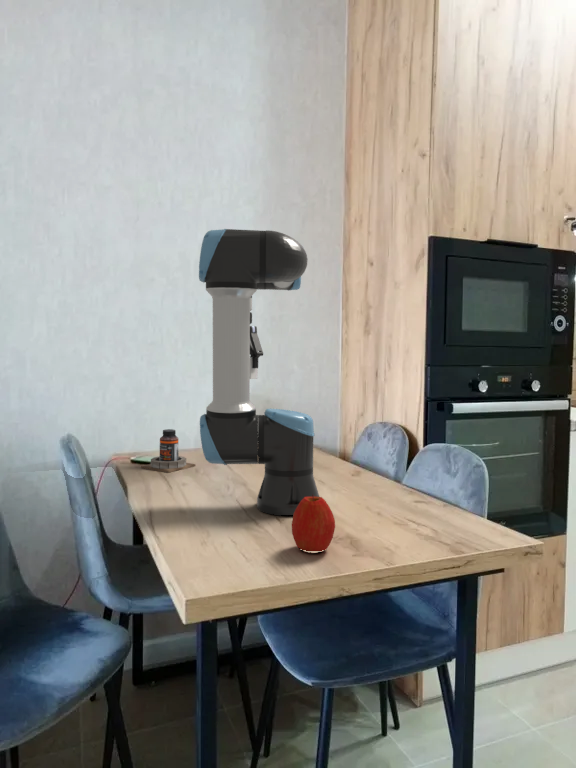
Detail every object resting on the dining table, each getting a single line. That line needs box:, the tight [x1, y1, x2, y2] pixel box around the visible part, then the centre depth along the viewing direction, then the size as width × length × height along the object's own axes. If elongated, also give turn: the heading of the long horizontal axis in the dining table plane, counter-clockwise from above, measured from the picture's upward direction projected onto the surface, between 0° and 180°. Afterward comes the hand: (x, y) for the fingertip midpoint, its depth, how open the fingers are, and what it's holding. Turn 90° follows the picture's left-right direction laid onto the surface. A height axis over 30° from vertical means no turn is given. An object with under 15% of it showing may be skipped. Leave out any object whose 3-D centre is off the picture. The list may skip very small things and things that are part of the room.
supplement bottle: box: [159, 428, 180, 462], centre depth 174 cm, size 6×6×11 cm
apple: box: [291, 495, 336, 551], centre depth 102 cm, size 8×8×11 cm
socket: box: [140, 455, 196, 474], centre depth 174 cm, size 12×12×3 cm
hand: (240, 378), depth 174 cm, fingers open, 13 cm apart
